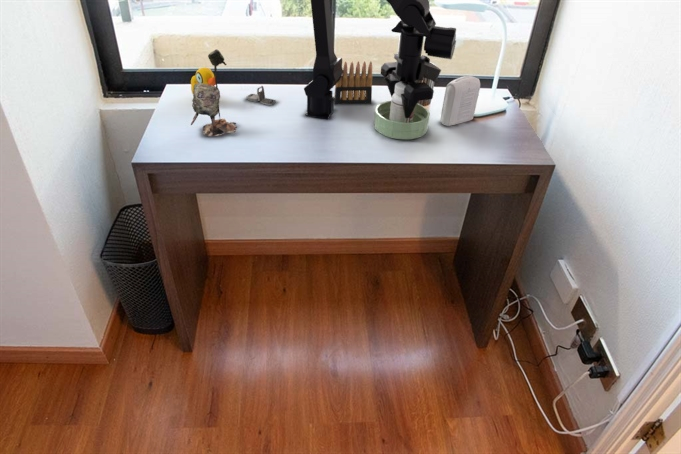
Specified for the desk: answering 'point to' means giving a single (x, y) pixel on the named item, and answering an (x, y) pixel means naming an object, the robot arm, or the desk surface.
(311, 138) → the desk surface
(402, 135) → the bowl
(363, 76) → the ammunition clip
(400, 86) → the pill bottle
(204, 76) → the duckling
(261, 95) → the strap clip
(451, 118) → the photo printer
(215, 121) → the rough stone-bodied figurine
